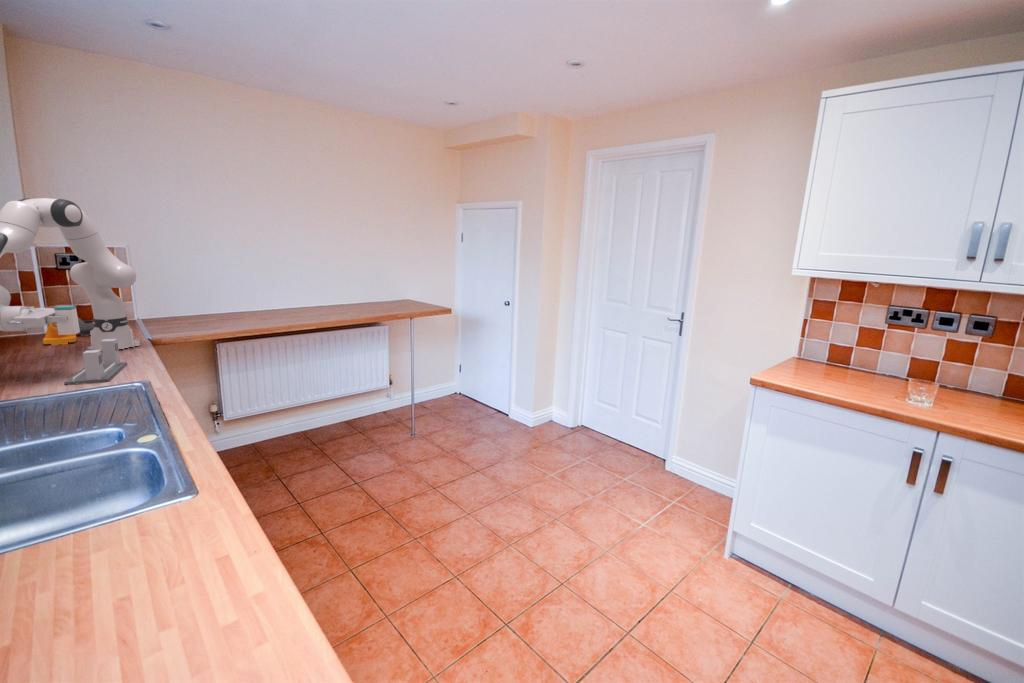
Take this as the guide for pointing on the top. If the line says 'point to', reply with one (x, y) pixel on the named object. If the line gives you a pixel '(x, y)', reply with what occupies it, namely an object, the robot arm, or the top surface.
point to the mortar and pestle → (85, 327)
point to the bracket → (57, 336)
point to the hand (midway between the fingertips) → (70, 317)
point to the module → (71, 324)
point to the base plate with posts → (99, 364)
